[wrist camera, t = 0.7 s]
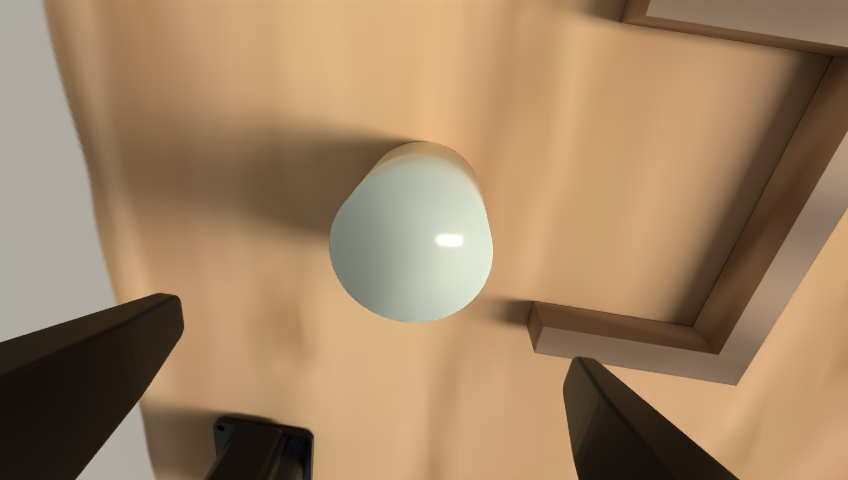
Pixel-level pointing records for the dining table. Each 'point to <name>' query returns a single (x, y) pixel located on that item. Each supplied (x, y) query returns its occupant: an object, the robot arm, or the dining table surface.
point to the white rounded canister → (414, 235)
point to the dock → (769, 222)
